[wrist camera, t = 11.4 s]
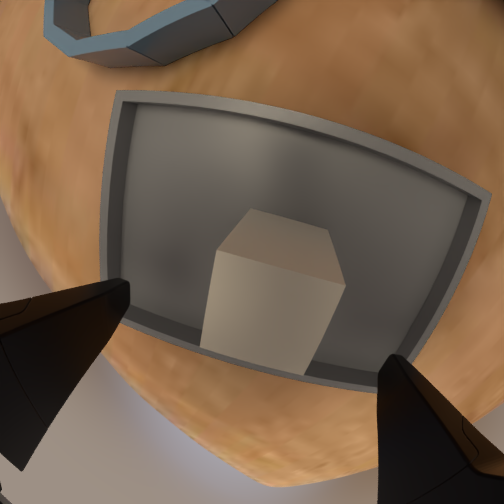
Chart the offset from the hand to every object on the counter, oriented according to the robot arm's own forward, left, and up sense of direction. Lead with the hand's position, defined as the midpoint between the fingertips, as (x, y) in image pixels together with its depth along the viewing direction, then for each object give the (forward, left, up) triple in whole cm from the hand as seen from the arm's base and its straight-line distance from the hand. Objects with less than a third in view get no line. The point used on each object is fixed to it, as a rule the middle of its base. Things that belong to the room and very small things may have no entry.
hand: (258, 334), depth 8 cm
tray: (0, 0, -8) cm, 8 cm away
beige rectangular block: (0, 0, -7) cm, 7 cm away
